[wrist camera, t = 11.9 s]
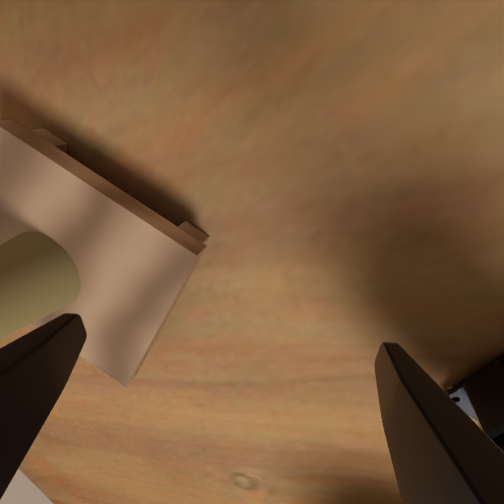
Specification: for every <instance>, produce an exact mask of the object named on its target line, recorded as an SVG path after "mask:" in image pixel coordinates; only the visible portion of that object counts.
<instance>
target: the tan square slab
mask: <svg viewBox="0 0 504 504" xmlns="http://www.w3.org/2000/svg"><path fill="white" fill-rule="evenodd" d="M67 145H68V144H67V143H66V142H64V141H63V140H61V139H60V138H58V137H57V136H55V135H54V134H52V133H50V132H49V131H47V130H46V129H27V128H26V127H24V126H23V125H21V124H20V123H18V122H17V121H15V120H14V119H0V245H1V244H3V243H5V242H6V241H8V240H10V239H12V238H14V237H15V236H17V235H19V234H21V233H25V232H29V231H30V232H37V233H41V234H43V235H45V236H47V237H50V238H52V239H53V240H54V241H55V242H57V243H58V244H59V245H60V246H62V247H63V248H64V250H65V251H66V252H67V253H68V254H69V256H70V257H71V258H72V260H73V262H74V264H75V265H76V267H77V269H78V272H79V276H80V280H81V287H80V293H79V295H78V297H77V299H76V300H75V301H73V302H72V303H70V304H68V305H66V306H65V307H63V308H61V309H59V310H57V311H55V312H53V313H51V314H49V315H47V316H45V317H43V318H41V319H39V320H37V321H36V322H34V323H32V325H34V326H35V327H37V328H38V327H40V326H42V325H44V324H46V323H47V322H49V321H51V320H53V319H55V318H56V317H58V316H60V315H62V314H64V313H75V314H79V315H80V316H81V318H82V321H83V324H84V326H85V329H86V332H87V338H86V341H85V344H84V346H83V348H82V350H81V352H80V355H79V356H81V357H82V358H84V359H85V360H87V361H88V362H90V363H91V364H93V365H94V366H96V367H97V368H99V369H100V370H102V371H103V372H105V373H106V374H108V375H109V376H111V377H112V378H114V379H115V380H117V381H118V382H120V383H121V384H123V385H124V386H126V387H127V385H128V384H129V383H130V382H131V380H132V379H133V378H134V377H135V375H136V374H137V373H138V371H139V369H140V367H141V365H142V364H143V362H144V360H145V358H146V356H147V354H148V353H149V351H150V349H151V347H152V345H153V343H154V342H155V340H156V338H157V336H158V334H159V332H160V331H161V329H162V327H163V325H164V323H165V321H166V320H167V318H168V316H169V314H170V312H171V310H172V309H173V307H174V305H175V303H176V301H177V299H178V298H179V296H180V294H181V292H182V290H183V289H184V287H185V285H186V283H187V281H188V279H189V278H190V276H191V274H192V272H193V270H194V268H195V267H196V265H197V263H198V261H199V259H200V257H201V256H202V254H203V252H204V250H205V248H206V245H205V243H206V241H207V240H208V238H209V236H208V235H206V234H205V233H203V232H202V231H200V230H199V229H197V228H196V227H194V226H193V225H191V224H190V223H188V222H186V221H185V222H183V223H182V224H180V225H179V226H176V225H174V224H173V223H171V222H169V221H168V220H166V219H165V218H163V217H162V216H160V215H159V214H157V213H156V212H154V211H153V210H151V209H150V208H148V207H147V206H145V205H143V204H142V203H140V202H139V201H137V200H136V199H134V198H133V197H131V196H130V195H128V194H127V193H125V192H124V191H122V190H121V189H119V188H118V187H116V186H114V185H113V184H111V183H110V182H108V181H107V180H105V179H104V178H102V177H101V176H99V175H98V174H96V173H95V172H93V171H92V170H90V169H89V168H87V167H85V166H84V165H82V164H81V163H79V162H78V161H76V160H75V159H73V158H72V157H70V156H69V155H67V154H66V150H67Z"/></svg>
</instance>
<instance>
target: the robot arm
mask: <svg viewBox="0 0 504 504" xmlns="http://www.w3.org/2000/svg"><path fill="white" fill-rule="evenodd" d="M86 338H87V332H86V329H85V326H84V324H83V321H82V318H81V316H80V315H79V314H75V313H64V314H62V315H60V316H58V317H56V318H55V319H53V320H51V321H49V322H47V323H46V324H44V325H42V326H40V327H38V328H37V329H35V330H33V331H31V332H29V333H28V334H26V335H24V336H22V337H20V338H18V339H17V340H15V341H13V342H11V343H9V344H8V345H6V346H4V347H2V348H0V499H1V498H2V496H3V494H4V492H5V491H6V489H7V487H8V485H9V484H10V482H11V480H12V478H13V477H14V475H15V473H16V471H17V470H18V468H19V466H20V464H21V463H22V461H23V459H24V457H25V456H26V454H27V452H28V450H29V449H30V447H31V445H32V443H33V442H34V440H35V438H36V437H37V435H38V433H39V431H40V430H41V428H42V426H43V424H44V423H45V421H46V419H47V417H48V416H49V414H50V412H51V410H52V409H53V407H54V405H55V403H56V402H57V400H58V398H59V396H60V395H61V393H62V391H63V389H64V387H65V385H66V383H67V381H68V379H69V377H70V375H71V372H72V370H73V368H74V366H75V364H76V361H77V359H78V357H79V355H80V352H81V350H82V348H83V346H84V344H85V341H86ZM375 374H376V381H377V389H378V396H379V403H380V410H381V417H382V423H383V427H384V432H385V436H386V440H387V444H388V448H389V451H390V455H391V459H392V463H393V467H394V471H395V475H396V479H397V483H398V487H399V491H400V495H401V499H402V503H403V504H504V354H502V355H501V356H499V357H498V358H496V359H495V360H493V361H492V362H490V363H489V364H487V365H486V366H484V367H483V368H481V369H480V370H478V371H477V372H475V373H474V374H472V375H471V376H469V377H468V378H466V379H465V380H463V381H462V382H460V383H459V384H457V385H456V386H454V387H453V388H451V389H450V390H448V391H447V392H445V391H444V390H443V389H442V388H441V387H440V386H439V385H438V384H437V383H436V382H435V381H434V380H433V379H432V378H431V377H430V376H429V375H428V374H427V373H426V372H425V371H424V370H423V369H422V368H421V367H420V366H419V365H418V364H417V363H416V362H415V360H414V359H413V358H412V357H411V356H410V355H409V354H408V353H407V352H406V351H405V350H404V349H403V348H402V347H401V346H400V345H399V344H397V343H391V342H383V343H382V344H381V345H380V348H379V351H378V354H377V357H376V360H375ZM468 415H469V416H471V417H472V418H474V419H475V420H477V421H478V423H479V425H480V427H479V426H478V425H477V424H476V423H475V422H474V421H473V420H472V419H471V418H470V417H469V416H468Z"/></svg>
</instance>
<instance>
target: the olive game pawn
mask: <svg viewBox="0 0 504 504" xmlns="http://www.w3.org/2000/svg"><path fill="white" fill-rule="evenodd" d="M80 287H81V280H80V276H79V272H78V269H77V267H76V265H75V264H74V262H73V260H72V258H71V257H70V256H69V254H68V253H67V252H66V251H65V250H64V248H63V247H62V246H60V245H59V244H58V243H57V242H55V241H54V240H53V239H52V238H50V237H47V236H45V235H43V234H41V233H37V232H30V231H29V232H25V233H21V234H19V235H17V236H15V237H14V238H12V239H10V240H8V241H6V242H5V243H3V244H1V245H0V340H1V339H3V338H5V337H7V336H8V335H10V334H12V333H14V332H16V331H18V330H20V329H22V328H24V327H26V326H28V325H30V324H32V323H34V322H36V321H37V320H39V319H41V318H43V317H45V316H47V315H49V314H51V313H53V312H55V311H57V310H59V309H61V308H63V307H65V306H66V305H68V304H70V303H72V302H73V301H75V300H76V299H77V297H78V295H79V293H80Z"/></svg>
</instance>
